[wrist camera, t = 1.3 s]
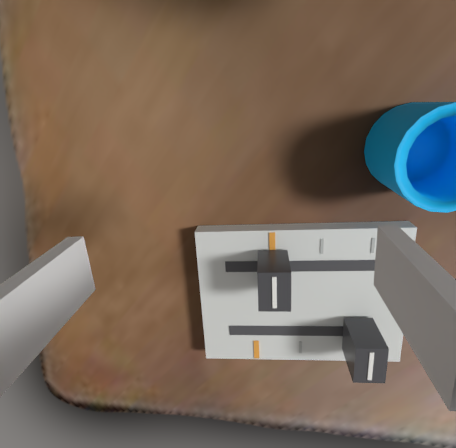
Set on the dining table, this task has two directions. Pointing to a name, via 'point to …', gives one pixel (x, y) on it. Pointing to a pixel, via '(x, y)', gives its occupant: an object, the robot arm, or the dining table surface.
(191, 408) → the dining table surface
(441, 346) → the robot arm
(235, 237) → the console
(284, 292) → the fader
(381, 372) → the fader
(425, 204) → the mug
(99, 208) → the dining table surface
